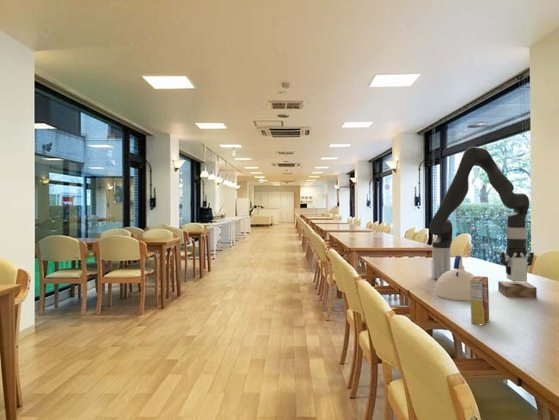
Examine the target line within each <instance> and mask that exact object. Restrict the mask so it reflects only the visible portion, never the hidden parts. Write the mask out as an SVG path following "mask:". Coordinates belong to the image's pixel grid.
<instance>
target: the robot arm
mask: <svg viewBox="0 0 559 420" xmlns="http://www.w3.org/2000/svg"><path fill="white" fill-rule="evenodd" d="M461 157H462V158H461V160H460V162H459V165H458V168H457V171H456V173H455V175H454V177H453V179H452V181H451V184H450V185H449V187H448V189H447V191H446V193H445V196H444V198H443V200H442V201H441V204H440V206H439V207H438V209H437V211H436V212H435V214H434V216H433V217H432V219H431V221H430V223H429V226H428V229H429V232H430V233H431V234H432V235H433V236H437V237H436V238H435V240H433V242H432V244H431V245H432V247H431V249H432V259H431V261H430V262H431V278H432V279H434V280H438V278H439V277H440V276H441V275H442V274H444V273H445V272H447V271H450V270H452V269H451V246H452V242H453V224H452V221H451V220H450V219H449V217H450V216H451V214H452V213H453V212H455V211H456V210H457V209H458V208H459V207H460V205H462V204H463V202H464V200H465V199H466V197H467V195H468V192H469V189H470V188H469V186H470V185H469V177H470V173H471V171H472V169H473V168H474V166H475V167H480V168H481V169H482V170H483V171H484V172H485V173H486V174H487V178H488V182H489V183H490V185H491V187H493V189H494V190H495V191H496V192H497V194H498V196H499V198H500V201H501V204H503V206H504V207H505V208H507V209H510V210H513V212H512V214H509V215H507V220H506V223H507V225H506V226H507V227H506V228H507V229H506V250H505V251H499V252H498V254H499V260H500V264H501V265H503V266H505V274H506V275H507V274H508V275H511V267H510V265H511V259H510V260H509V258H515V257H521V258H526V256H527V268H528V267H529V266H533V261H534V256H535V253H534V252H533V251H528V250H527V229H526V221H527V220H526V219H527V216H528V213H529V212H528V211H529V208H530V199H529V197H528V195H527V194H525V193H518V192H517V193H515V192H514V189H515V187H514V185H513V183H512V182H511V180H510V179H509V178H508V177H507V176H506V175H505V174H504V173H503V172H502V171H501V169H500V168H499V166H498V165H497V163H496V162H495V159H493V157H492V155H491V153H490V152H489V151H488V149H486V148H483V147H477V146H470V147H467V148H466V149H465V151H464V152H463V155H462V156H461ZM506 256H508V258H507V261H506Z"/></svg>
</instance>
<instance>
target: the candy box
mask: <svg viewBox="0 0 559 420" xmlns="http://www.w3.org/2000/svg"><path fill="white" fill-rule="evenodd" d="M470 295H471V301H470V321H471V324H472V323H475V324H474V325H477V324H482V325H481V326H485V325H486V324H487V323H488V322H489V320H490V297H489V296H490V295H489V277H488V276H480V275H479V276H478V275H475V277H474V278H473V279H471V280H470ZM484 324H485V325H484Z"/></svg>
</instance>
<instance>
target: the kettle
mask: <svg viewBox="0 0 559 420" xmlns="http://www.w3.org/2000/svg"><path fill="white" fill-rule="evenodd" d="M474 277H476V275H474V274H473V273H471V272H470V271H467V270H465V266H464V265H463V257H462V256H461V255H456V256H455V257H454V261H453V269H451V270H450V271H447V272H445V273H444V274H442V275H441V276H440V277H439V278H438V279H436V280H437V281H436V283H435V289H434V294H435V295H436V296H437V297H439V298H442V299H447V300H454V301H461V300H463V301H464V300H465V301H466V302H467V301H469V302H471V295H470V280H471V279H473V278H474ZM465 301H464V302H465Z"/></svg>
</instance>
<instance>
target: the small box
mask: <svg viewBox="0 0 559 420" xmlns="http://www.w3.org/2000/svg"><path fill="white" fill-rule="evenodd" d="M507 258H508V255H506V256H505V260H506V262H507ZM527 258H528V257H527ZM527 258H526V257H524V258H521V257H515V258H509V260H510V259H511V265H510V267H511V275H508V274H507V273H506V279H507V280H510V282H528V267H527Z"/></svg>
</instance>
